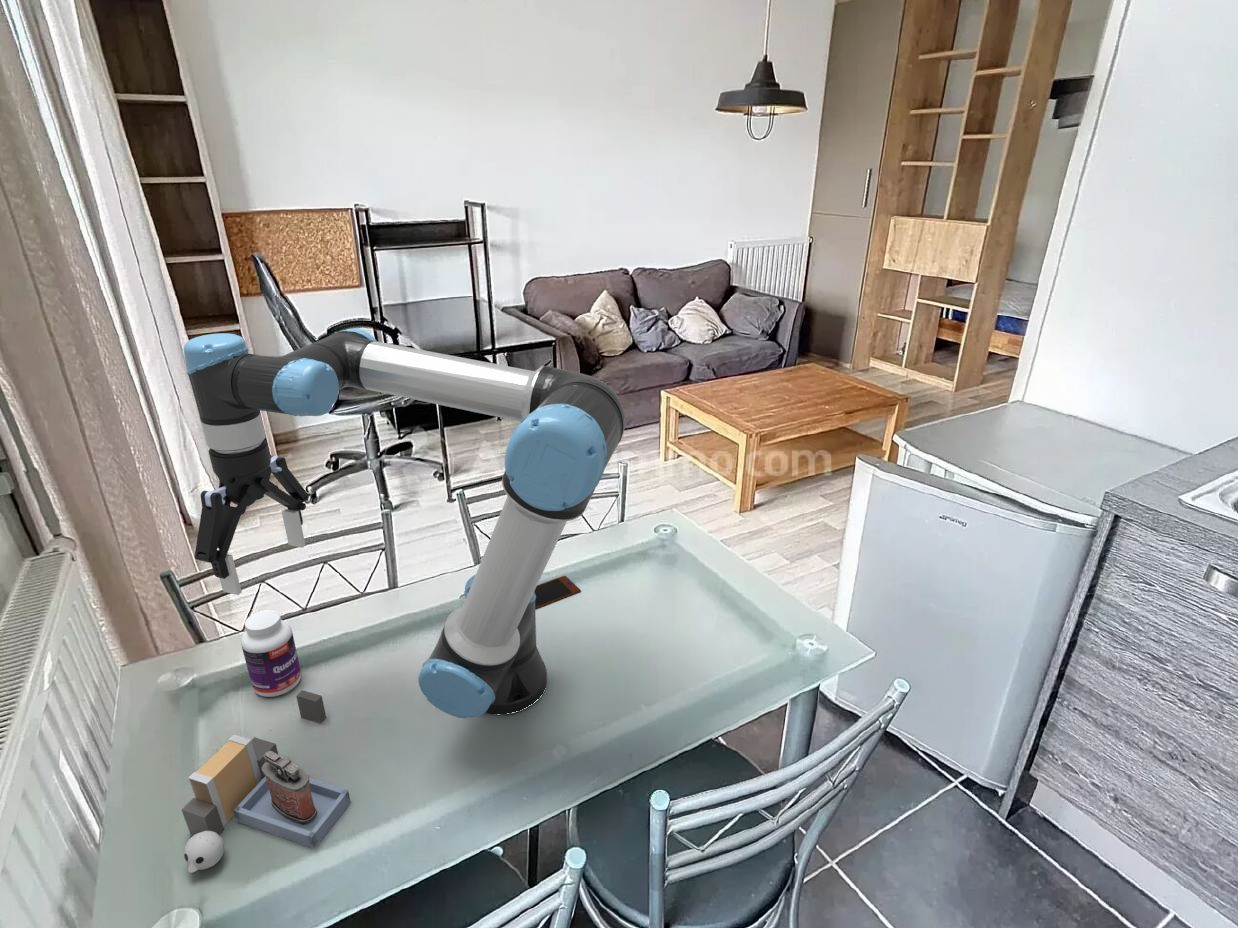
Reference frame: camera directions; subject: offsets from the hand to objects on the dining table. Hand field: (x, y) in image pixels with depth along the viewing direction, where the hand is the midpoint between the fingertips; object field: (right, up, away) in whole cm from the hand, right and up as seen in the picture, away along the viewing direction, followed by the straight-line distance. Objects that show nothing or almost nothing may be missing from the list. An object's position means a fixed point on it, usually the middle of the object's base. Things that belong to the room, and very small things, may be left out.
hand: (266, 567), depth 106 cm
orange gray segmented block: (0, -32, 0) cm, 32 cm away
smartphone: (+39, -13, +43) cm, 59 cm away
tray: (+7, -35, -6) cm, 36 cm away
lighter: (+7, -35, -6) cm, 36 cm away
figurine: (-1, -39, -14) cm, 41 cm away
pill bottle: (-7, -24, +17) cm, 30 cm away
